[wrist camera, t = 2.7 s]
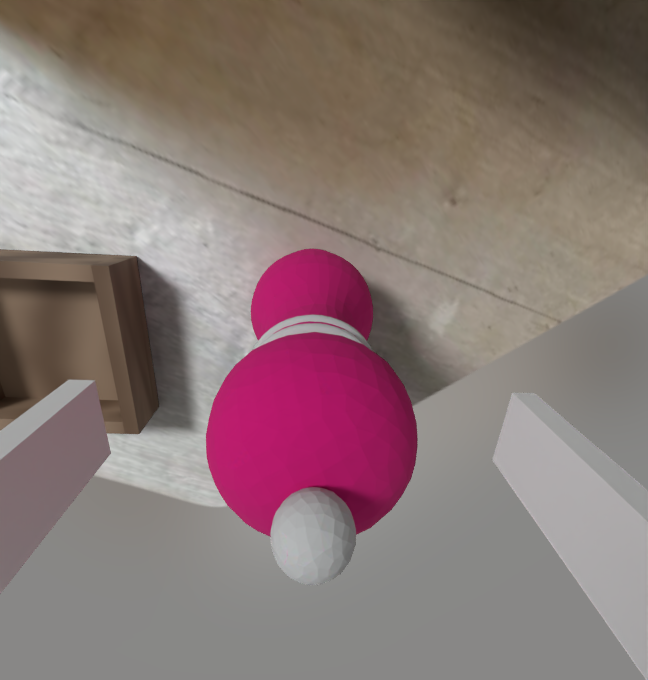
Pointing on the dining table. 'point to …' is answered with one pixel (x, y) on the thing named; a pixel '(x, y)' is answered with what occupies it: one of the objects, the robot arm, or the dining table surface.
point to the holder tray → (75, 334)
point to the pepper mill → (312, 419)
